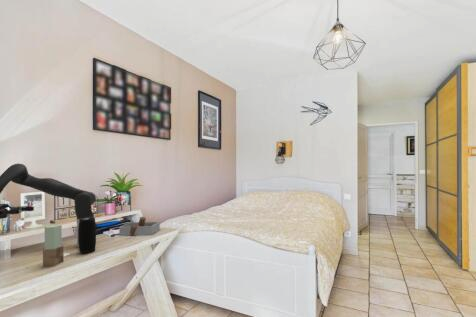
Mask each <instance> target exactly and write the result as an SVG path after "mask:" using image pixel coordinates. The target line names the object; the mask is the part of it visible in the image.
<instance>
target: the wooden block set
mask: <svg viewBox="0 0 476 317" xmlns="http://www.w3.org/2000/svg"><path fill="white" fill-rule="evenodd" d="M138 222H139V224H138V225H137V224H135V225H133V226H131V230H130V234H131V235H130V236H135V235H134V233H135V231H136V229H137V227H141V226H144V224H145V222H146V217H144V216H140V217H139V220H138ZM148 226H150V225H148Z"/></svg>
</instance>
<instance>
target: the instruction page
mask: <svg viewBox="0 0 476 317" xmlns="http://www.w3.org/2000/svg"><path fill="white" fill-rule="evenodd" d="M71 254H72V253H71V252H63V255H64V258H66V257H67V256H69V255H71ZM40 260H43V257H41V258H40Z"/></svg>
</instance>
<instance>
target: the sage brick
mask: <svg viewBox="0 0 476 317" xmlns="http://www.w3.org/2000/svg"><path fill="white" fill-rule="evenodd" d="M62 227H63V226H62V224H51V225H48V226H46V227H45V226H44V249H45V250H54V249H57V248H59V247H61V246H63V245H62V244H63V243H62V241H63V240H62V239H63V238H62V233H63V232H62Z"/></svg>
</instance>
